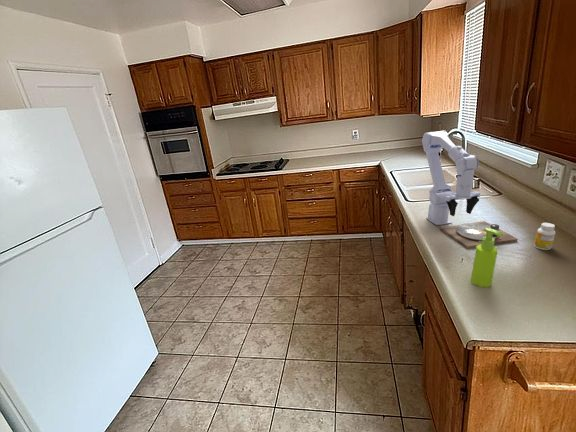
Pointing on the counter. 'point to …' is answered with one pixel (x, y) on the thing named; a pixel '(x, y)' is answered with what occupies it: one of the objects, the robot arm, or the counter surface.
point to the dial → (475, 230)
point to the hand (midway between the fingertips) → (460, 214)
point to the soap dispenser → (485, 259)
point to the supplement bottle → (545, 236)
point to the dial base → (474, 243)
